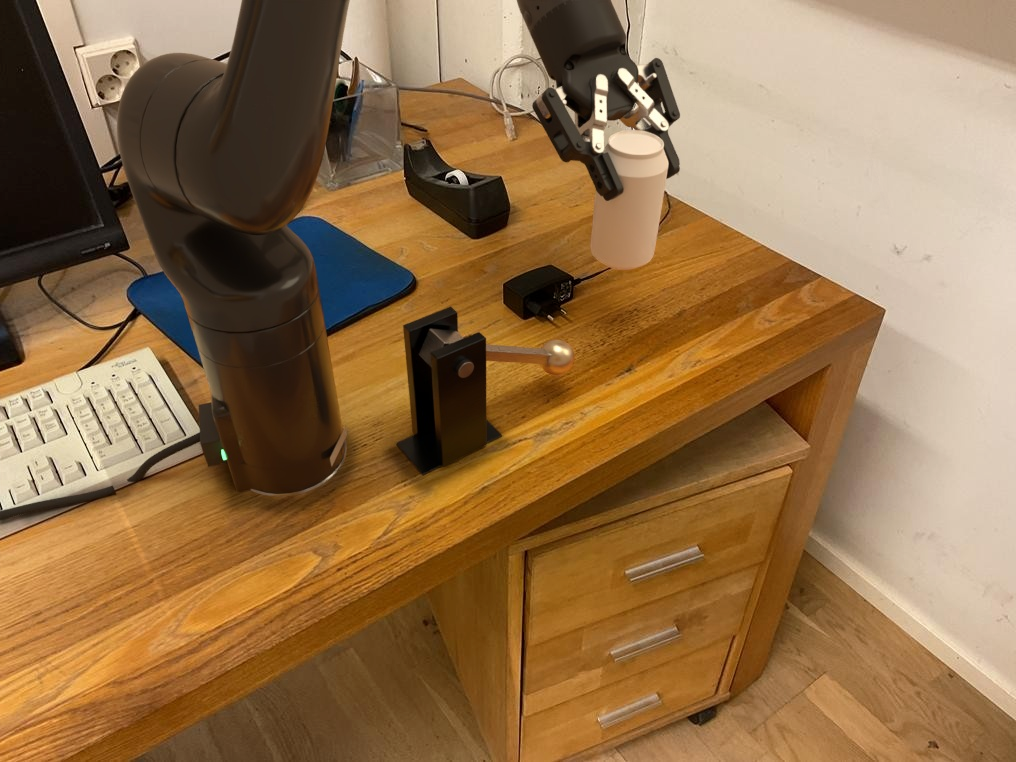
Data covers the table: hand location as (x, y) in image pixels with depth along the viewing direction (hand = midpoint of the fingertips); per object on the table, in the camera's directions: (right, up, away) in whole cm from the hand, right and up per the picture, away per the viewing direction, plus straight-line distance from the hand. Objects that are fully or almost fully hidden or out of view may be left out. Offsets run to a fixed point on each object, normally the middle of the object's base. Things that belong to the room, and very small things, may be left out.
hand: (643, 185), depth 72 cm
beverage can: (-1, -6, +7) cm, 9 cm away
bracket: (-17, -23, -2) cm, 29 cm away
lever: (-13, -16, -4) cm, 21 cm away
